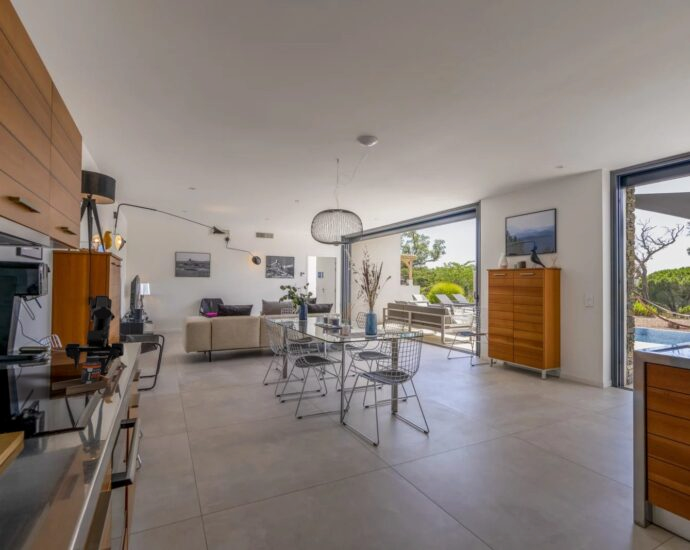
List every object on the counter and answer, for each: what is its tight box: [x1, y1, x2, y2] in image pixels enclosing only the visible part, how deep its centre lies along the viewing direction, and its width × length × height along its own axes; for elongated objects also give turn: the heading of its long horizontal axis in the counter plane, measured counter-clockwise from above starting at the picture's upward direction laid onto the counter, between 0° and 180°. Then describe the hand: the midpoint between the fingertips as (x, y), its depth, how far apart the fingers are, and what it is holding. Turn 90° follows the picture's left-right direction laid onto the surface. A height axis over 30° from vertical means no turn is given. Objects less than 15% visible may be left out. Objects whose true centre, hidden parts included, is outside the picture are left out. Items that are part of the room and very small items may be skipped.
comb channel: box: [51, 374, 111, 396], centre depth 135 cm, size 11×14×4 cm
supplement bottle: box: [80, 356, 101, 385], centre depth 138 cm, size 6×6×11 cm
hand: (90, 368), depth 136 cm, fingers open, 9 cm apart
